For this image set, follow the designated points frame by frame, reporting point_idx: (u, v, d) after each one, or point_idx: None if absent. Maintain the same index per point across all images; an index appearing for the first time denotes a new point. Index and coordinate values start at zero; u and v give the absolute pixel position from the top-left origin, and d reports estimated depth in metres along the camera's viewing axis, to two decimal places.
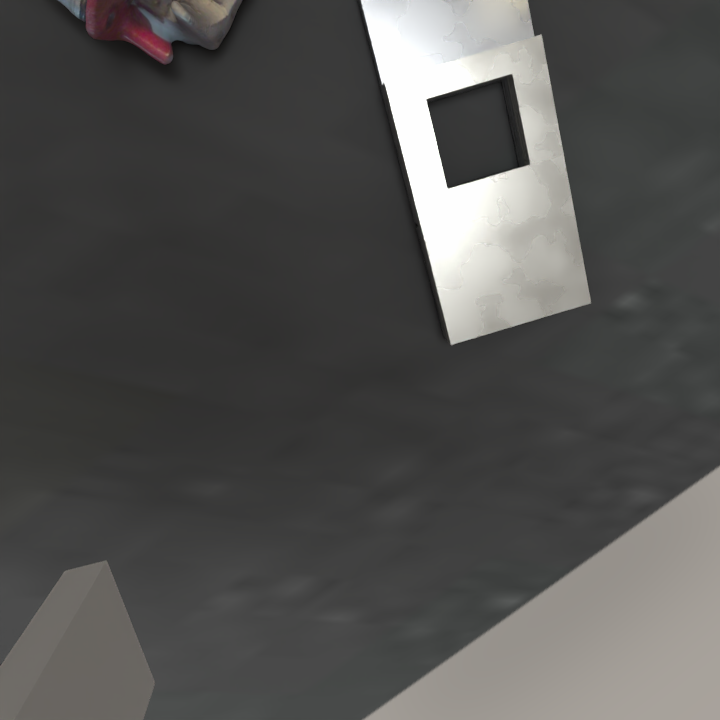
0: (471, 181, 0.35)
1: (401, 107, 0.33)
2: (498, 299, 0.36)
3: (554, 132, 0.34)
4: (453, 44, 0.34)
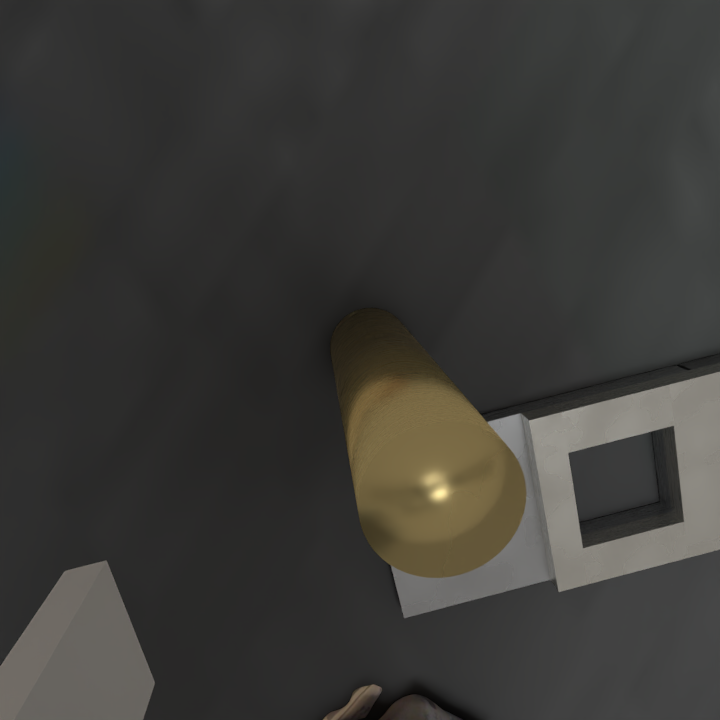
0: None
1: (588, 573, 0.29)
2: None
3: (641, 397, 0.27)
4: None
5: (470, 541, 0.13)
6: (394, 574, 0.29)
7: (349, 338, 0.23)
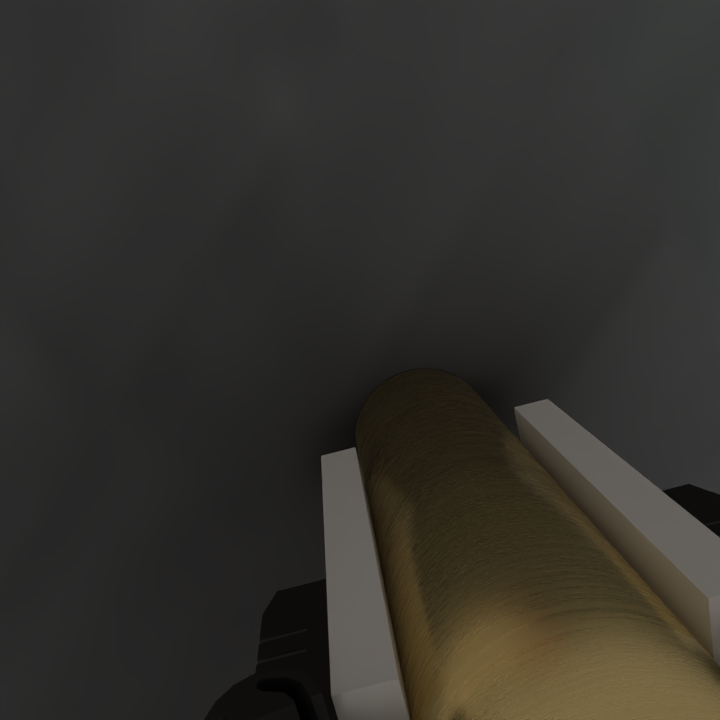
0: None
1: None
2: None
3: None
4: None
5: None
6: None
7: (401, 451, 0.12)
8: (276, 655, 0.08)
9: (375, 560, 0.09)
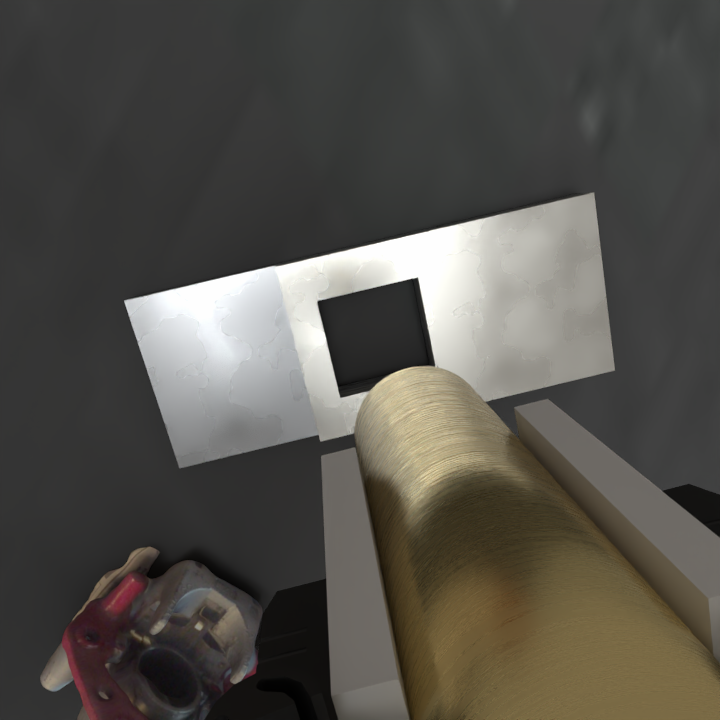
0: None
1: (347, 424, 0.30)
2: (570, 313, 0.30)
3: (383, 247, 0.28)
4: (281, 358, 0.30)
5: None
6: (166, 423, 0.31)
7: (399, 447, 0.12)
8: (276, 655, 0.08)
9: (375, 560, 0.09)
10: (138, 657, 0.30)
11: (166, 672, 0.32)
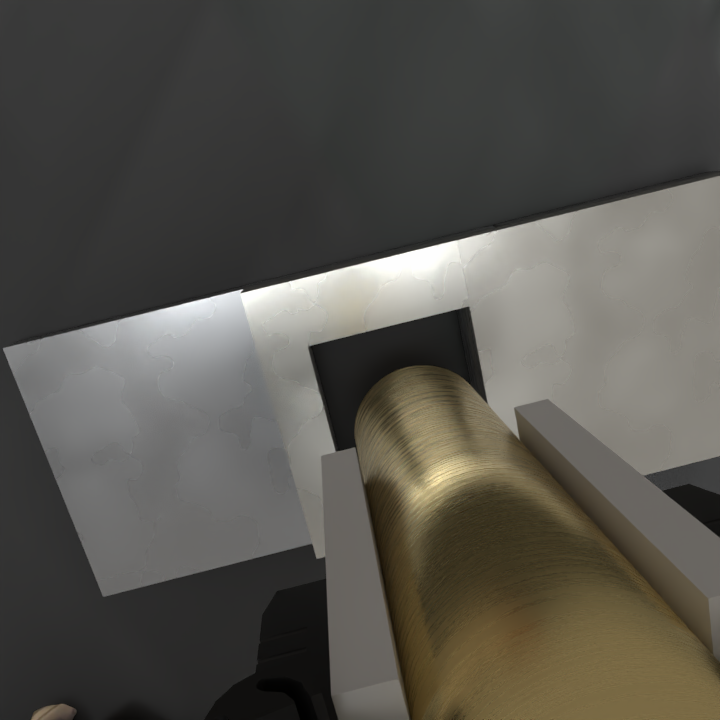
0: None
1: None
2: (705, 359, 0.19)
3: (414, 260, 0.18)
4: (255, 431, 0.19)
5: None
6: (79, 532, 0.20)
7: (399, 445, 0.12)
8: (276, 655, 0.08)
9: (375, 560, 0.09)
10: None
11: None
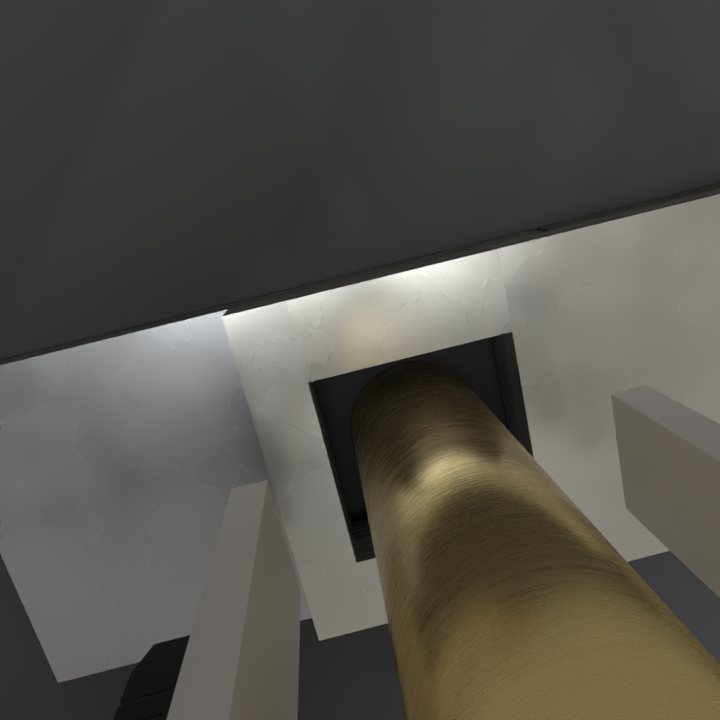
0: (519, 440, 0.16)
1: (371, 608, 0.16)
2: None
3: (444, 274, 0.14)
4: (242, 484, 0.16)
5: None
6: (27, 607, 0.16)
7: (393, 436, 0.12)
8: None
9: (245, 617, 0.08)
10: None
11: None
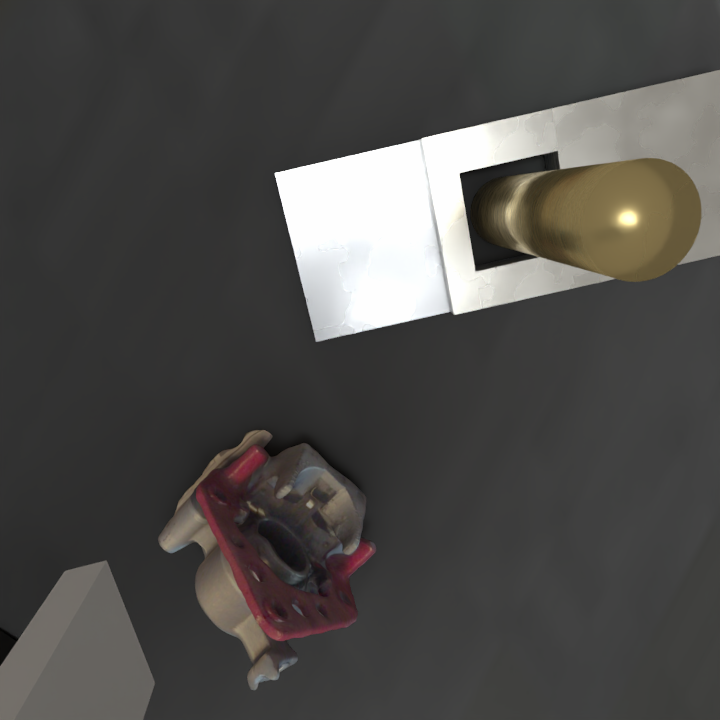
0: None
1: (481, 298, 0.31)
2: (703, 191, 0.31)
3: (526, 120, 0.29)
4: (418, 233, 0.31)
5: (658, 253, 0.18)
6: (306, 296, 0.32)
7: (505, 183, 0.28)
8: None
9: None
10: (257, 523, 0.32)
11: (275, 545, 0.34)
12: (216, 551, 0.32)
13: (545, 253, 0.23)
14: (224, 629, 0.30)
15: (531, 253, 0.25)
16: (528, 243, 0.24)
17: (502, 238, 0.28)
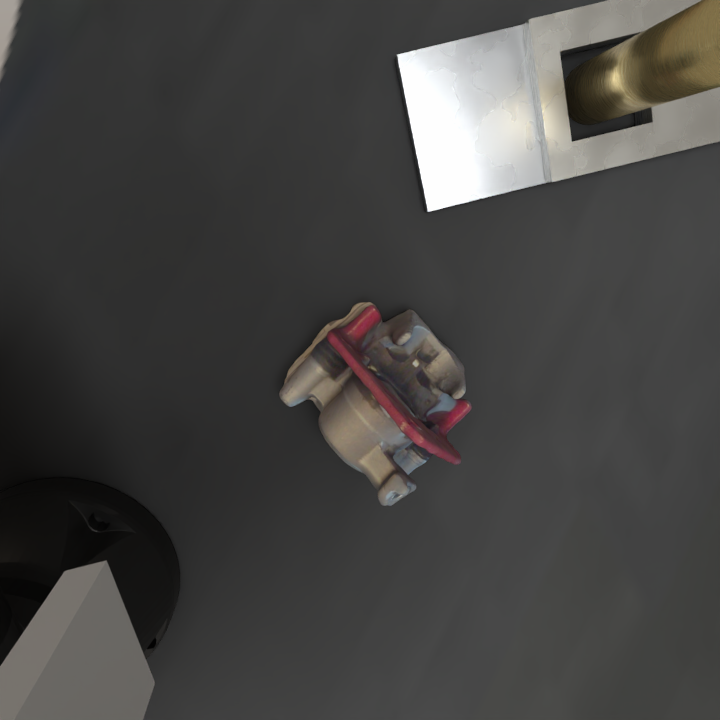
0: None
1: (575, 166, 0.36)
2: None
3: (618, 3, 0.34)
4: (520, 110, 0.36)
5: None
6: (420, 169, 0.36)
7: (606, 52, 0.32)
8: None
9: None
10: (374, 373, 0.36)
11: None
12: (338, 397, 0.35)
13: (666, 83, 0.27)
14: (351, 461, 0.34)
15: (642, 98, 0.30)
16: (646, 82, 0.28)
17: (607, 98, 0.32)
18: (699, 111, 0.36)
